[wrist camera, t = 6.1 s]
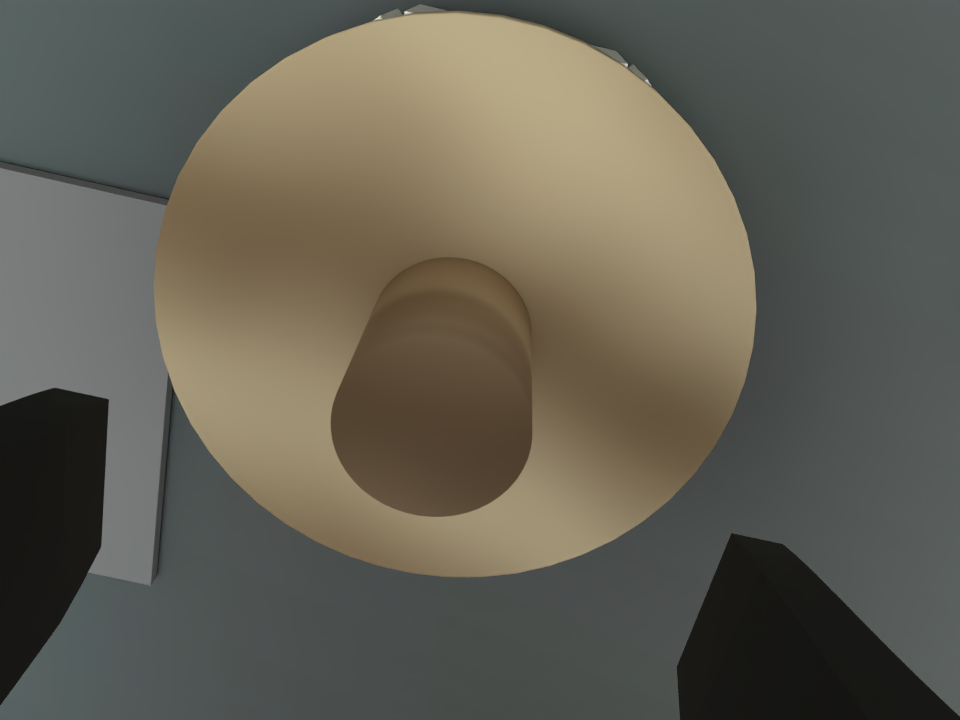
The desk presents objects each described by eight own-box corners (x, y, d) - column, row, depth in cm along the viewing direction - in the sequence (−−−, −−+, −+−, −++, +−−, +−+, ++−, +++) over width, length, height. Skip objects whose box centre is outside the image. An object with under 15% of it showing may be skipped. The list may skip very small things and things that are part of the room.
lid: (624, 600, 19) (650, 778, 15) (140, 469, 18) (27, 618, 14) (844, 121, 15) (965, 184, 11) (225, -77, 14) (100, -90, 10)
